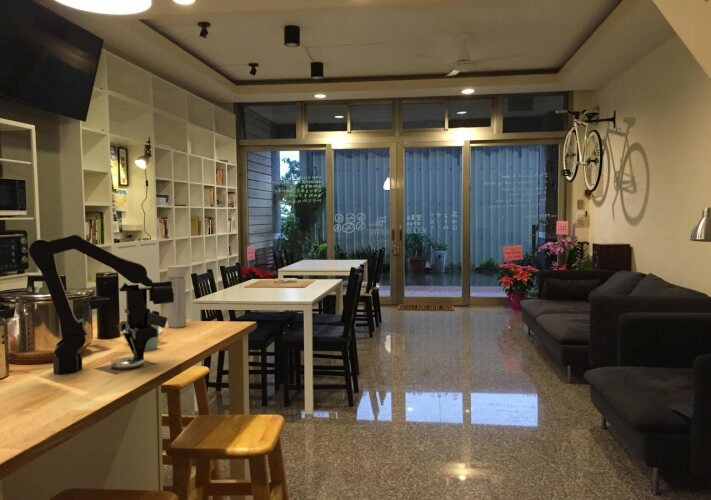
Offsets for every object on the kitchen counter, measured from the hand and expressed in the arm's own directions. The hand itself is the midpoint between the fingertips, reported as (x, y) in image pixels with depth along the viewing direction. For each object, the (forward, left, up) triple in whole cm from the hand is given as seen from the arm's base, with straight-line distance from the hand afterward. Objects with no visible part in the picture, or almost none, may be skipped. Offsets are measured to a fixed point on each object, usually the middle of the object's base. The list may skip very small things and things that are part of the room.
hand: (138, 357), depth 167 cm
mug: (+23, +28, -4) cm, 36 cm away
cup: (+14, +16, -3) cm, 21 cm away
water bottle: (+48, +43, -3) cm, 64 cm away
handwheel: (-3, +1, -2) cm, 4 cm away
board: (-3, +1, -3) cm, 5 cm away
